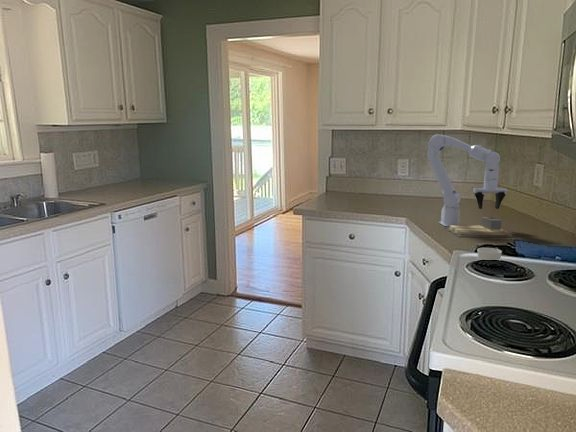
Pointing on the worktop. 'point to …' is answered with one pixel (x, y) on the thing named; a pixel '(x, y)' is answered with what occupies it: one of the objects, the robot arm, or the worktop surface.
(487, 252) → the teacup
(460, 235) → the pine board
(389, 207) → the worktop surface
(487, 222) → the block
